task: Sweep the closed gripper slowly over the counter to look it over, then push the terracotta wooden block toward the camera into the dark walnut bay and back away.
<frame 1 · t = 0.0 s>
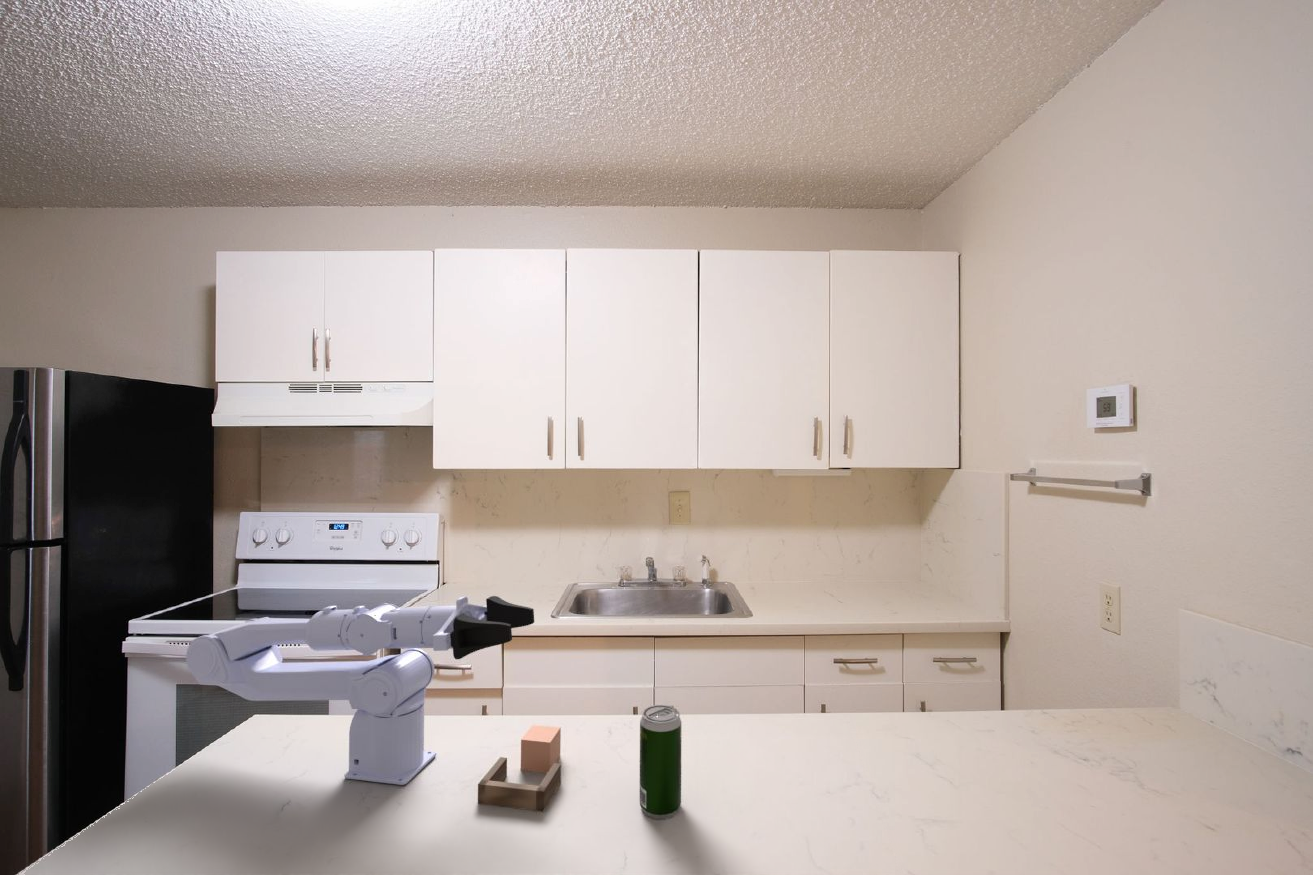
hand: (522, 624, 78), 22 cm above the countertop, tool horizontal, fingers open, 7 cm apart
beer can: (660, 808, 72), on the countertop
terracotta block: (540, 763, 83), on the countertop
walnut bay: (524, 786, 77), on the countertop
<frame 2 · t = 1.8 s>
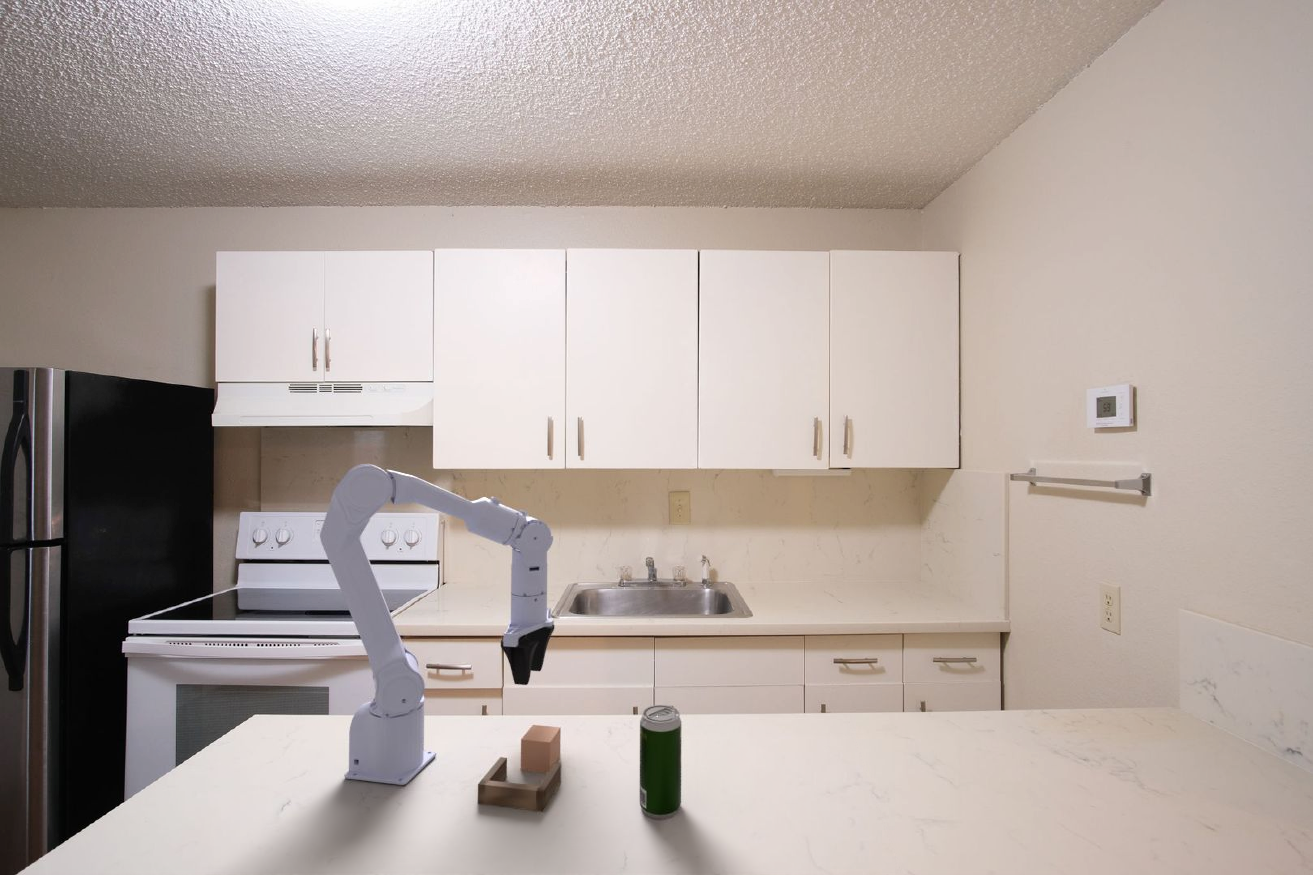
hand: (528, 676, 91), 9 cm above the countertop, tool pointing down, fingers open, 5 cm apart
nothing on the countertop moved.
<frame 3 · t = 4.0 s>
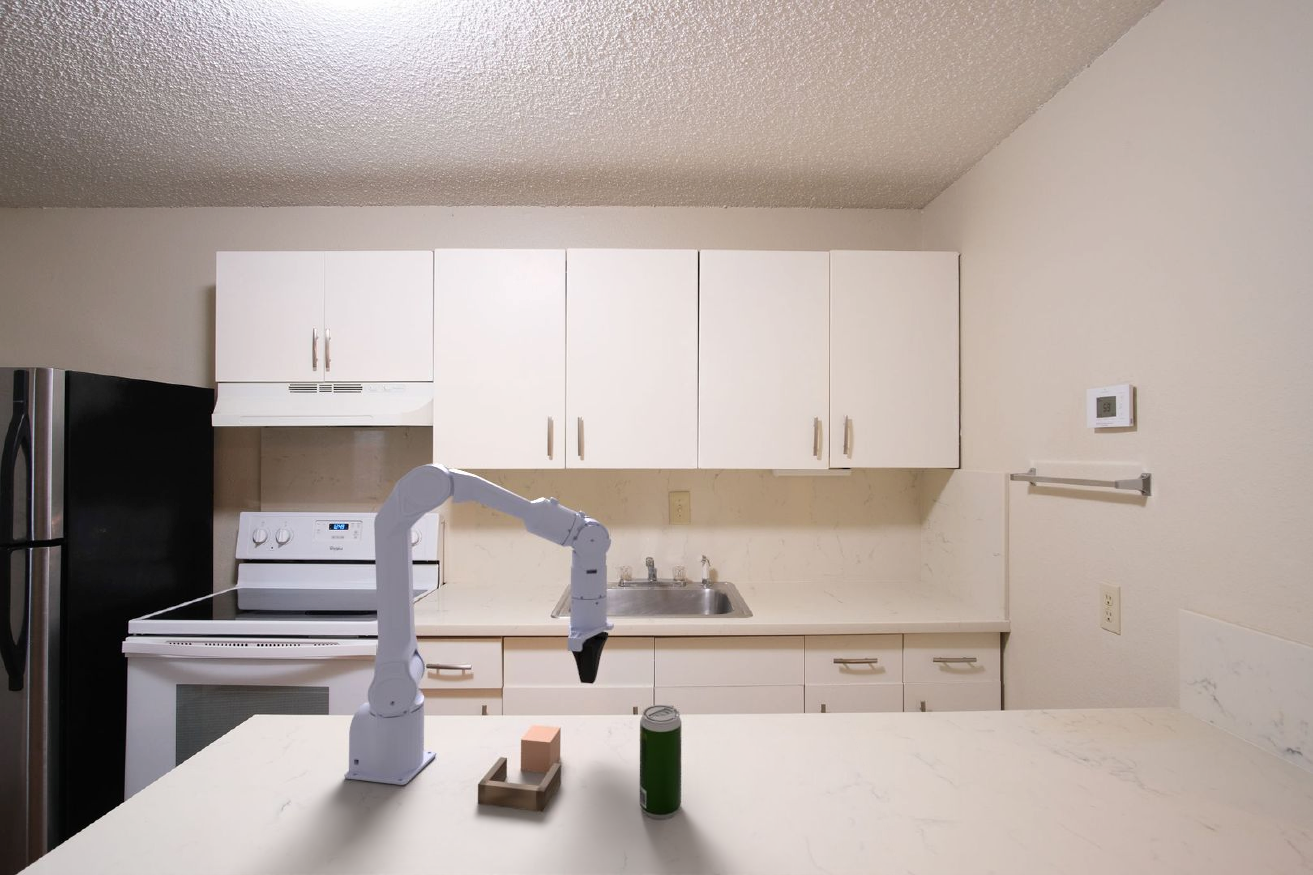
hand: (588, 681, 89), 9 cm above the countertop, tool pointing down, fingers closed
nothing on the countertop moved.
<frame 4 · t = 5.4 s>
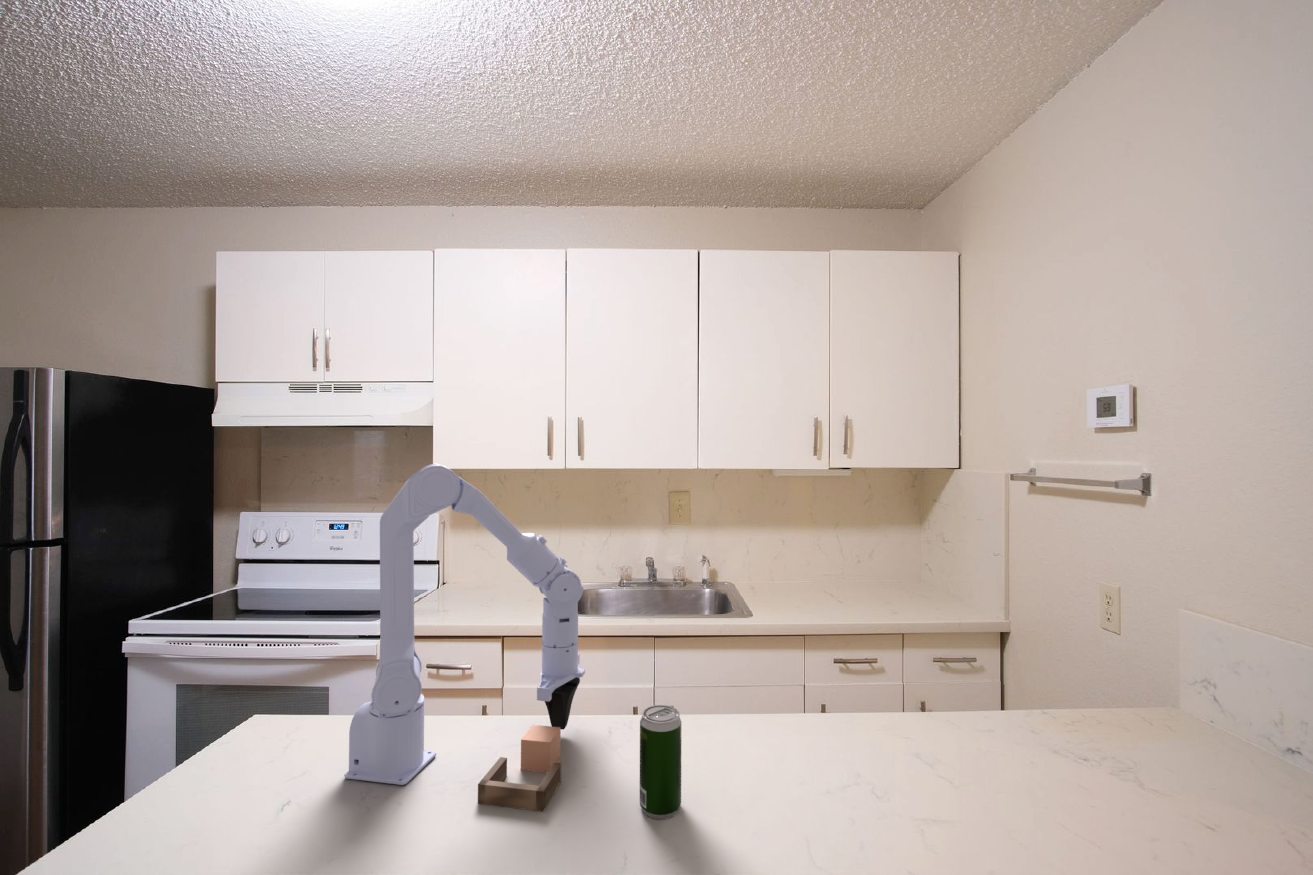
hand: (559, 726, 90), 1 cm above the countertop, tool pointing down, fingers closed
nothing on the countertop moved.
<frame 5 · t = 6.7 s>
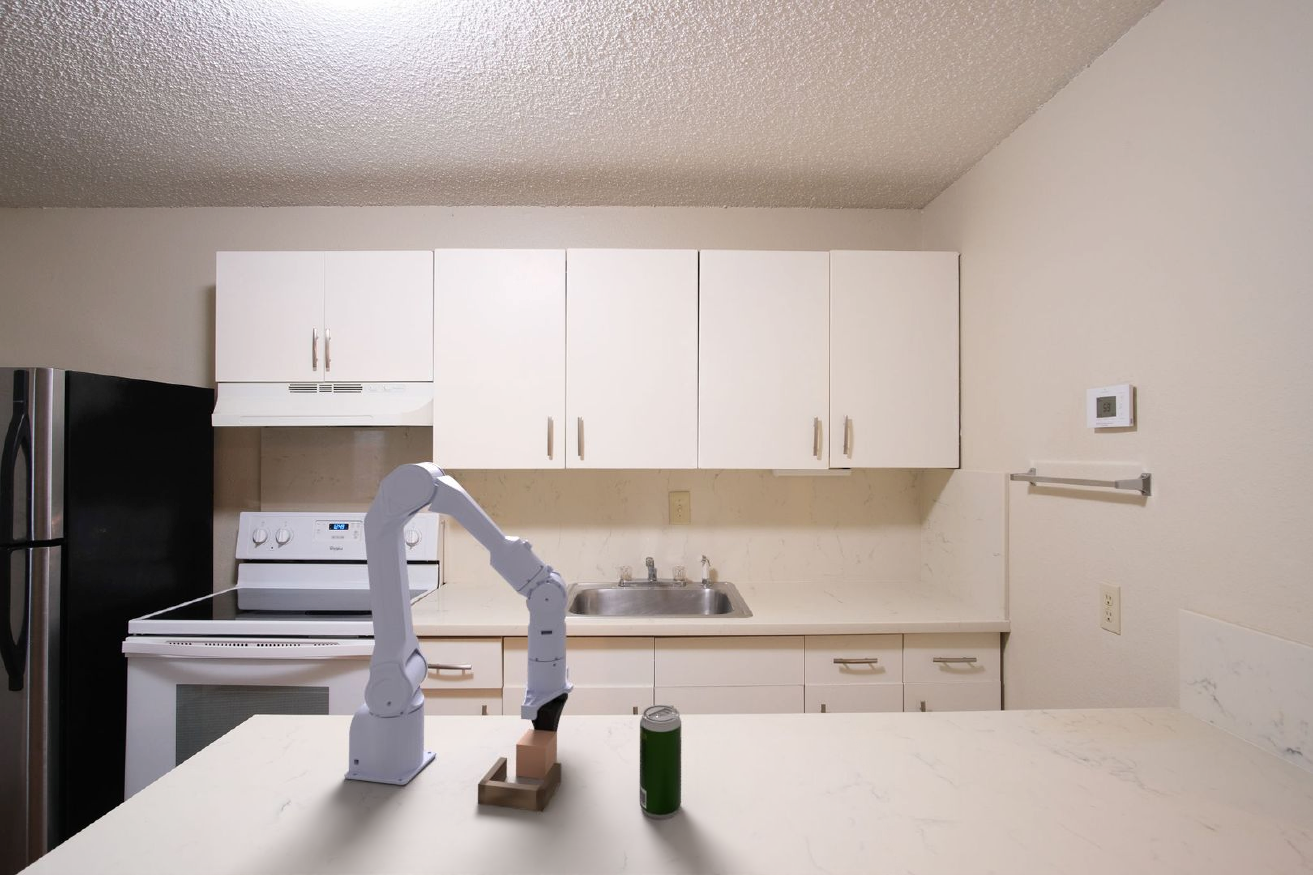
hand: (546, 745, 85), 1 cm above the countertop, tool pointing down, fingers closed
terracotta block: (536, 768, 81), on the countertop, touching gripper
everything else where it was.
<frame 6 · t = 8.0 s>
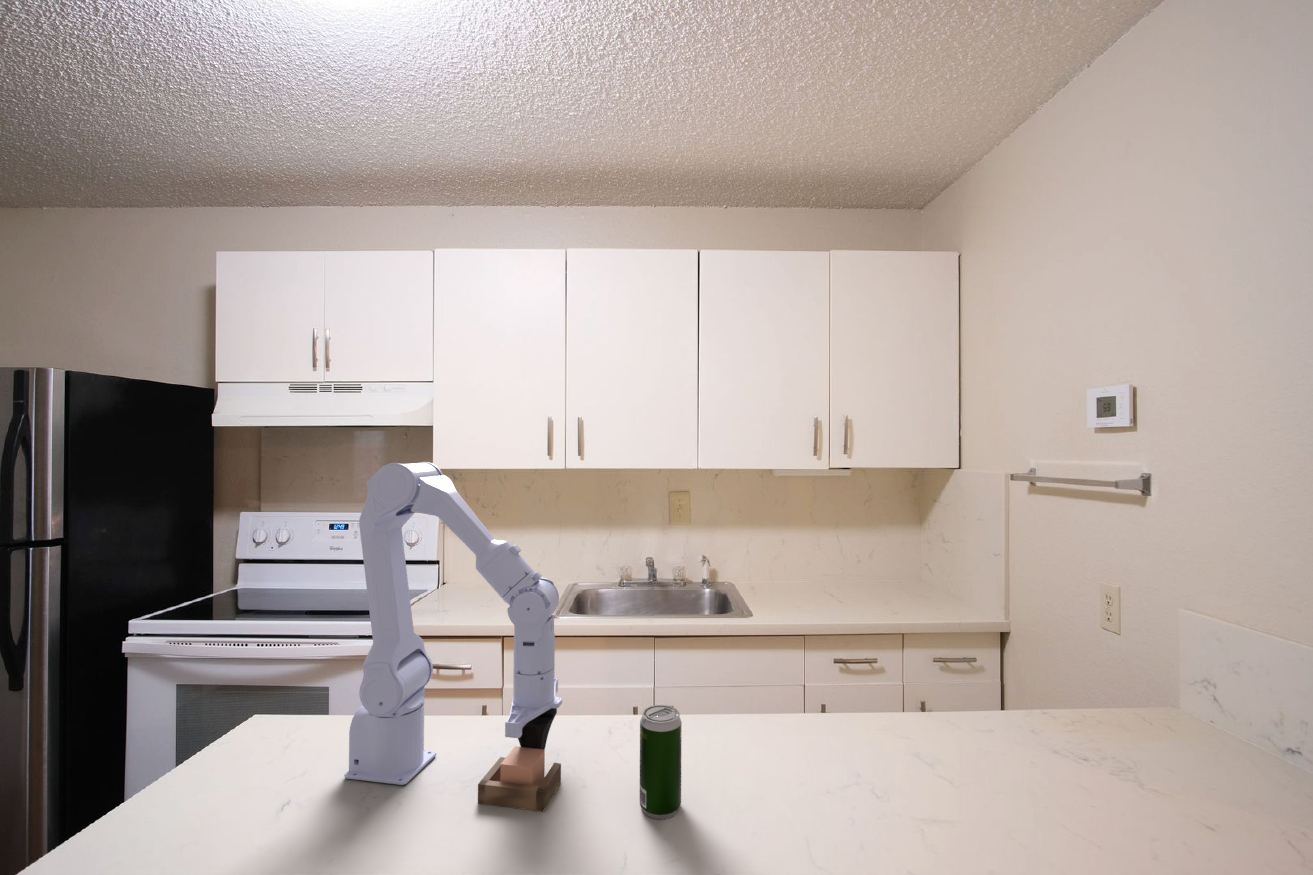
hand: (533, 763, 80), 1 cm above the countertop, tool pointing down, fingers closed
terracotta block: (522, 789, 76), on the countertop, touching gripper
everything else where it was.
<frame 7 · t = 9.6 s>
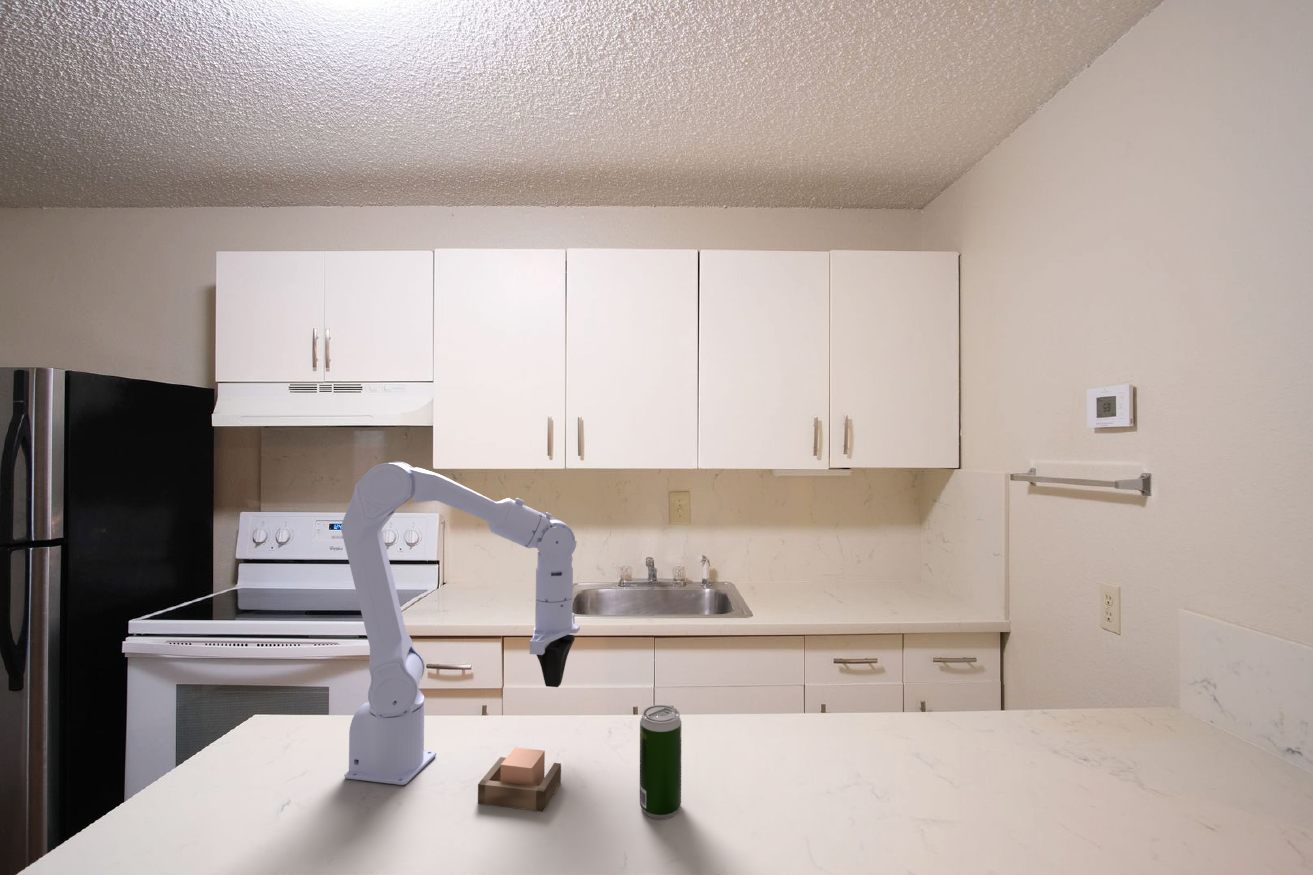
hand: (553, 685, 88), 9 cm above the countertop, tool pointing down, fingers closed
terracotta block: (522, 790, 76), on the countertop
everything else where it was.
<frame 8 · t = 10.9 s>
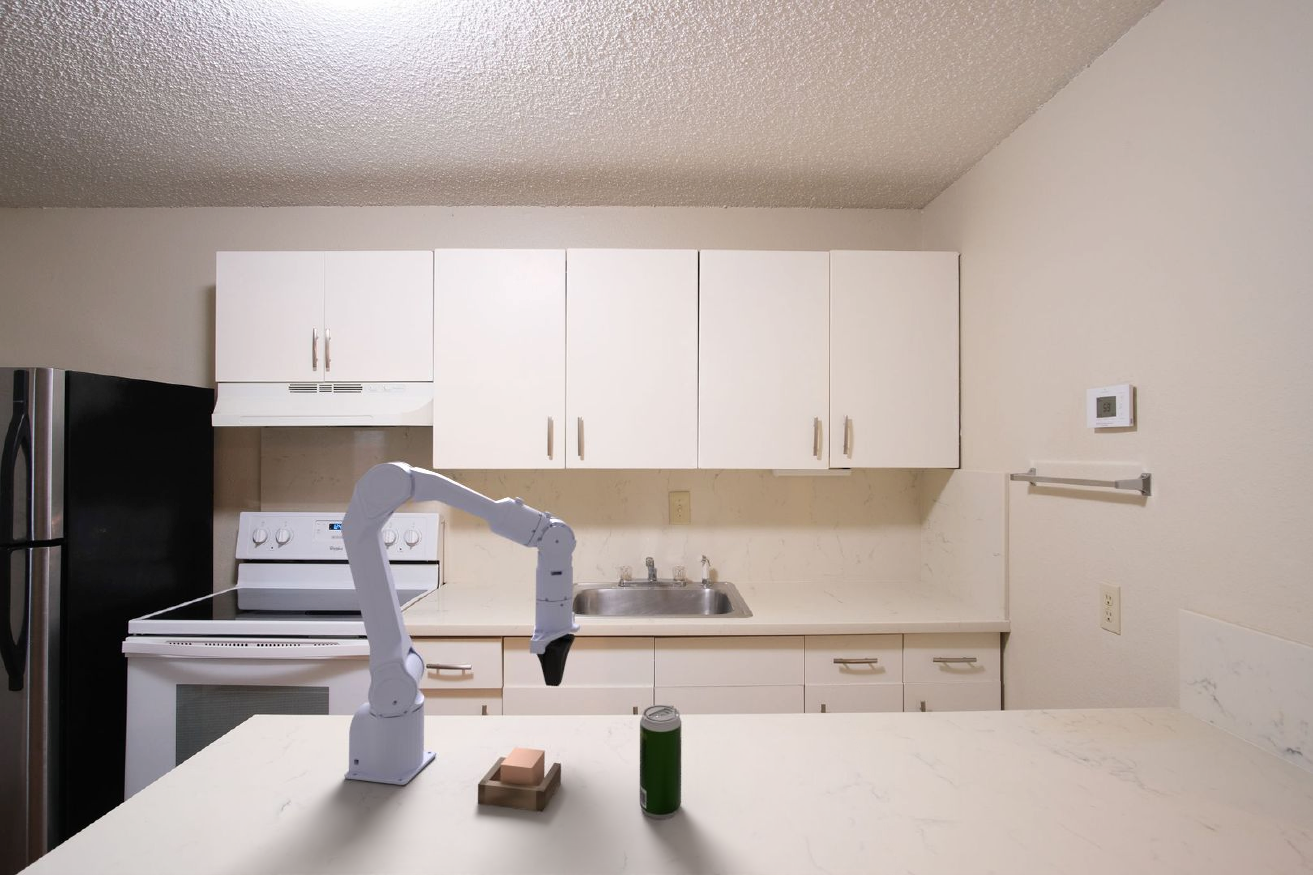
hand: (553, 684, 88), 9 cm above the countertop, tool pointing down, fingers closed
nothing on the countertop moved.
at the end: terracotta block 0.5 cm from the target spot, on the countertop; terracotta block tilted 0° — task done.
